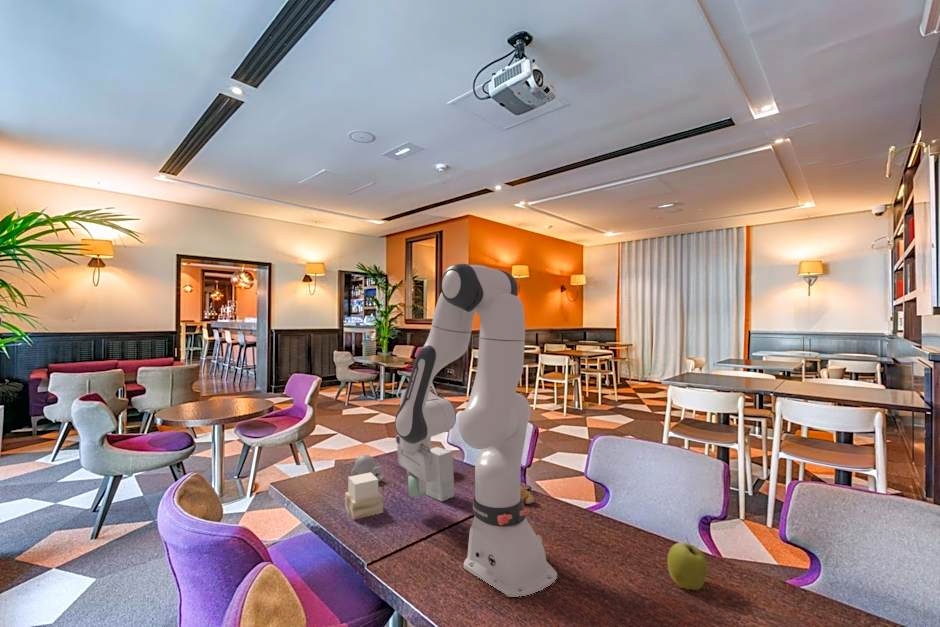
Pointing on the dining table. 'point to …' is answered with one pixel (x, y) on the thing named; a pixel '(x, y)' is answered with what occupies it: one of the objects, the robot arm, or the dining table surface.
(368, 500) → the tower base
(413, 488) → the sage green capsule
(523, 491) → the croissant
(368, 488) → the tower top
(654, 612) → the dining table surface
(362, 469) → the round bodied animal figurine
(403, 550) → the dining table surface
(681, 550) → the apple
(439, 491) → the skincare box
